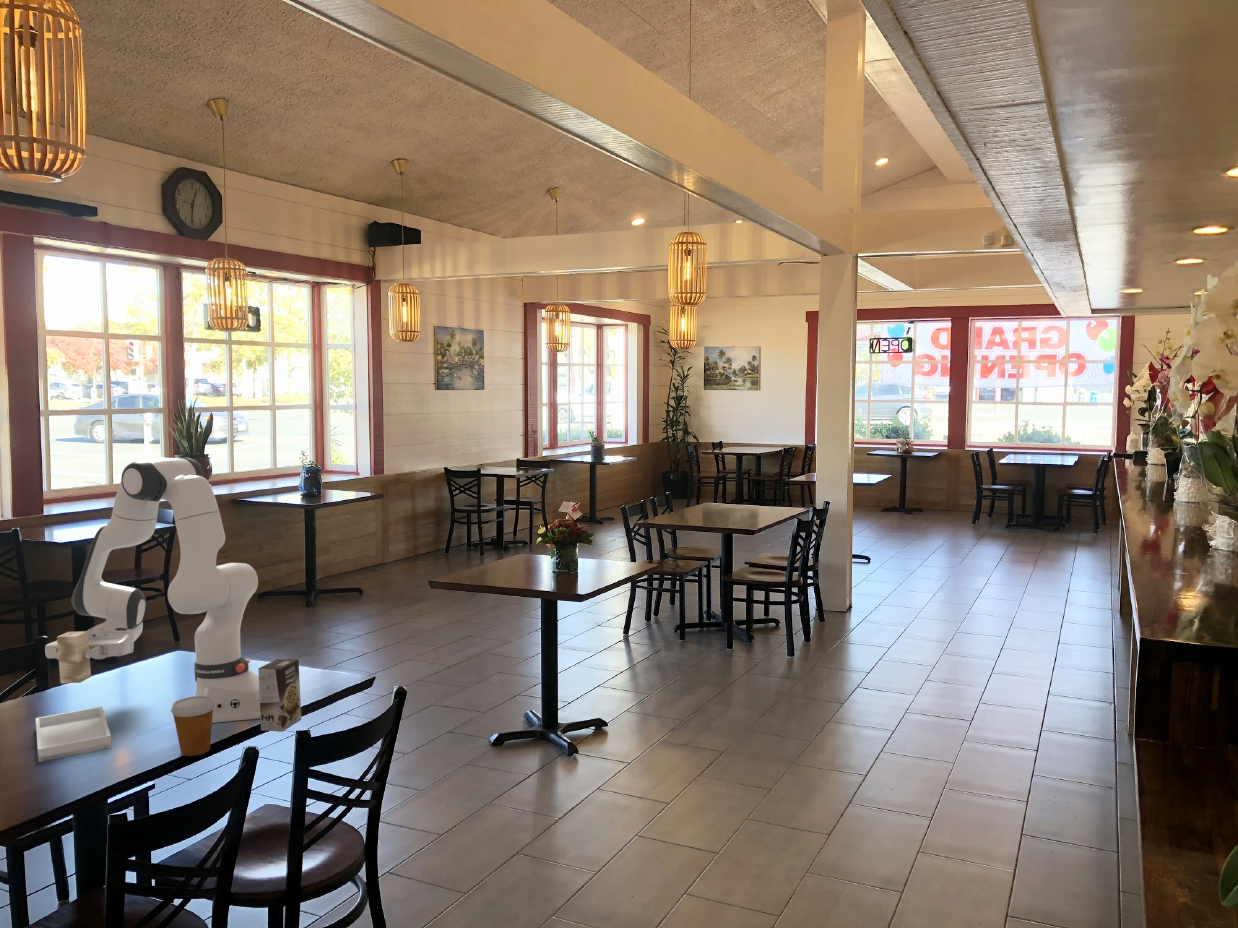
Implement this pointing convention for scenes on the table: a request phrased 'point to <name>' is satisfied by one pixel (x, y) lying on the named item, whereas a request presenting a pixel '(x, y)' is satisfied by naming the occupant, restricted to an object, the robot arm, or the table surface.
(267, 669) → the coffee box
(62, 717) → the tray
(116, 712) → the table surface
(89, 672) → the ash block
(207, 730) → the disposable coffee cup
